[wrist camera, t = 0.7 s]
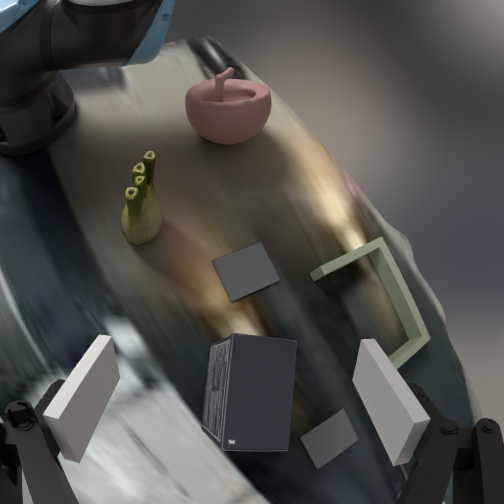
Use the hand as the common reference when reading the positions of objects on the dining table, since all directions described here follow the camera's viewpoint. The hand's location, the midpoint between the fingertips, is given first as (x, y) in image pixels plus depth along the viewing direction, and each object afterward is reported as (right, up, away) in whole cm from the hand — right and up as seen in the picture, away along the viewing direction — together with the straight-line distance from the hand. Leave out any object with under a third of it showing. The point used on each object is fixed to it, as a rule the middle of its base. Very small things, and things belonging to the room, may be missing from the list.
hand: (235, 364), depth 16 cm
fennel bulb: (-13, +9, +23) cm, 27 cm away
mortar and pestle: (-4, +24, +32) cm, 40 cm away
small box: (-1, -10, +19) cm, 22 cm away
